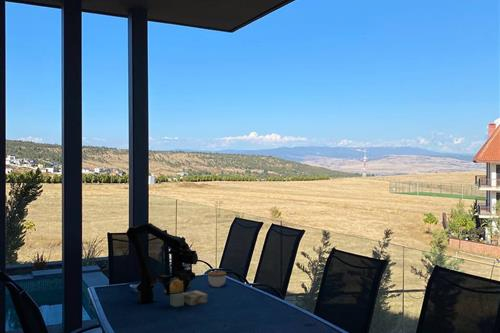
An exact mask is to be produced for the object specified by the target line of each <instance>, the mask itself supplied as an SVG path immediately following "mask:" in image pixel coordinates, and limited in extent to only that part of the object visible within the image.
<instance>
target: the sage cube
mask: <svg viewBox="0 0 500 333" xmlns="http://www.w3.org/2000/svg"><path fill="white" fill-rule="evenodd" d="M169 297H170V298H169V305H170V306H171V307H175V308H177V307H182V306H185V303H184V295H182V294H181V293H172V294H170V295H169Z"/></svg>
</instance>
